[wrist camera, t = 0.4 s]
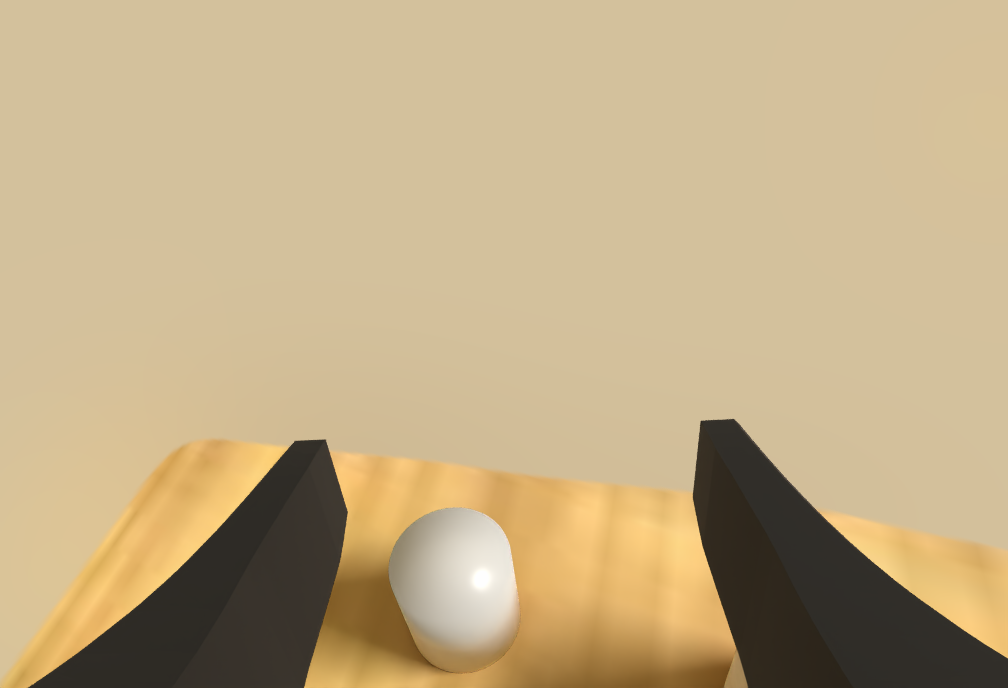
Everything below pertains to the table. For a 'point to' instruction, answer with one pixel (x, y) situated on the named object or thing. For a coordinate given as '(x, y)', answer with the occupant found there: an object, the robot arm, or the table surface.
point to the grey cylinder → (456, 588)
